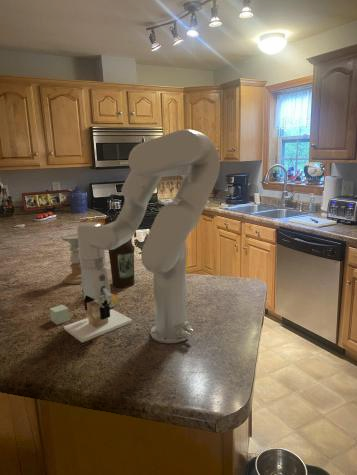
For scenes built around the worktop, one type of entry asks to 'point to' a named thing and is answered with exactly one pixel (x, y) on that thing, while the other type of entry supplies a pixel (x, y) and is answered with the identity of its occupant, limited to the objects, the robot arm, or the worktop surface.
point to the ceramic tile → (87, 331)
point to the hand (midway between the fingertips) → (97, 313)
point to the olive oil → (122, 265)
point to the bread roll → (112, 300)
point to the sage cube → (59, 314)
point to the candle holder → (74, 260)
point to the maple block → (95, 314)
